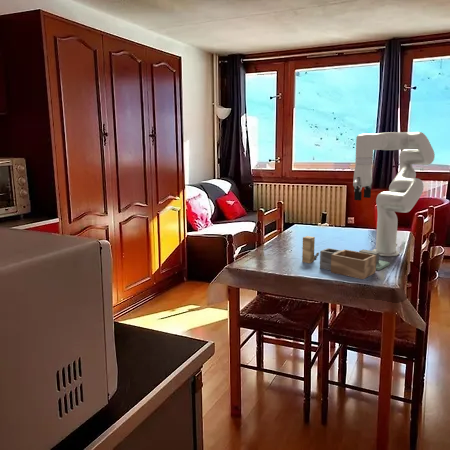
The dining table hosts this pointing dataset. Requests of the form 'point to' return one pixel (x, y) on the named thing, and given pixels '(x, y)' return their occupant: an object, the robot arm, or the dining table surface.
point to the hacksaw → (315, 255)
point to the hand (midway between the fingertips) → (362, 198)
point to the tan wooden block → (308, 249)
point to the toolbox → (348, 262)
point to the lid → (377, 259)
